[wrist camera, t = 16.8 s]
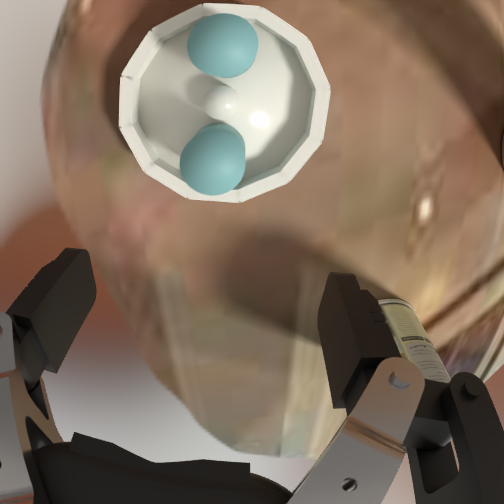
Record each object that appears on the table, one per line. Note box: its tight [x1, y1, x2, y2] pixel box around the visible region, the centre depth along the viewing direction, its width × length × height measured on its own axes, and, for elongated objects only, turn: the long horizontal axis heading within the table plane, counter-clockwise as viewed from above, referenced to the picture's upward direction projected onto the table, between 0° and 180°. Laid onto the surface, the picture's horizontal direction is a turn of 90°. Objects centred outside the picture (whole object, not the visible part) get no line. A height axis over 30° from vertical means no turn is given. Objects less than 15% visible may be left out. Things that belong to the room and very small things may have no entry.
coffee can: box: [378, 299, 451, 453], centre depth 27 cm, size 10×10×14 cm
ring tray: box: [119, 3, 331, 203], centre depth 20 cm, size 15×15×2 cm
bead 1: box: [187, 13, 258, 78], centre depth 16 cm, size 4×4×4 cm
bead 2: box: [179, 123, 245, 196], centre depth 20 cm, size 4×4×4 cm
